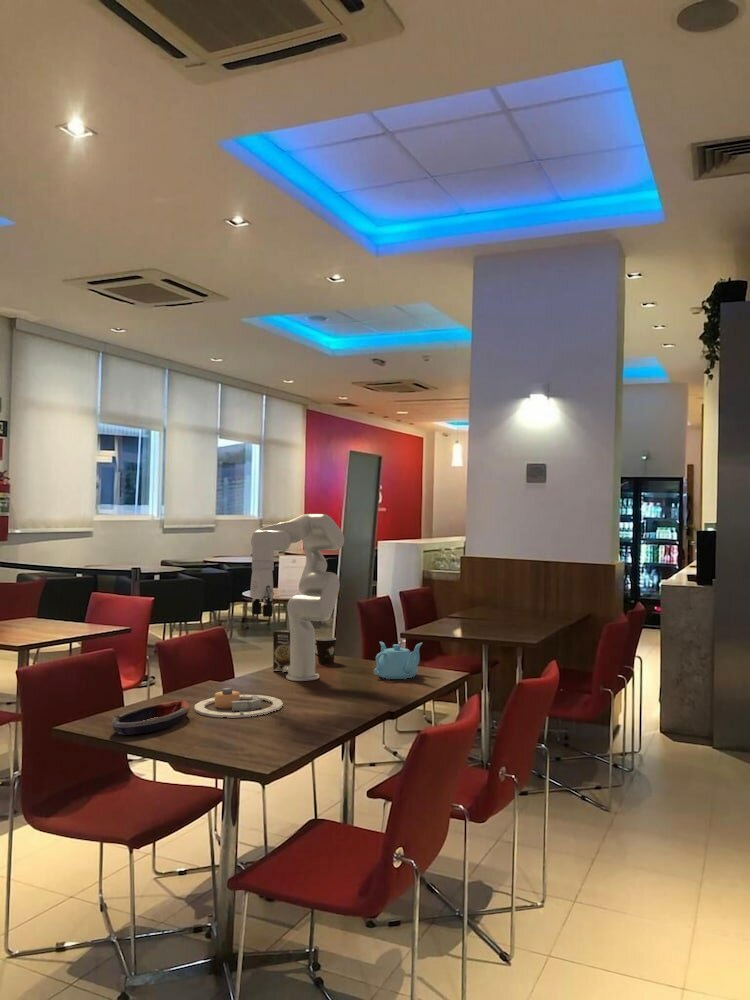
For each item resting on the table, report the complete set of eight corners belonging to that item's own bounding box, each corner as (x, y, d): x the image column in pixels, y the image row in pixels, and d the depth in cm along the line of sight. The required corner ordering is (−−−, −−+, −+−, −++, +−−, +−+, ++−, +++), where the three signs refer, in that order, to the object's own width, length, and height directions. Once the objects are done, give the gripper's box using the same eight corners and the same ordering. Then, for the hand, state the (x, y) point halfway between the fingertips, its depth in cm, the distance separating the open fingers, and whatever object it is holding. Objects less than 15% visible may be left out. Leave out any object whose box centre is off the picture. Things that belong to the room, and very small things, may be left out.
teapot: (422, 672, 322) (422, 641, 322) (417, 682, 303) (417, 649, 304) (380, 671, 325) (379, 640, 325) (371, 680, 306) (371, 648, 307)
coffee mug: (333, 660, 349) (333, 636, 349) (338, 663, 341) (338, 639, 341) (306, 662, 346) (306, 638, 346) (311, 665, 337) (311, 641, 338)
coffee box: (272, 672, 324) (272, 631, 325) (280, 669, 330) (279, 629, 331) (293, 673, 321) (293, 632, 321) (300, 670, 327) (300, 630, 327)
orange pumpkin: (209, 706, 267) (209, 689, 267) (226, 701, 274) (226, 685, 274) (228, 709, 263) (228, 692, 263) (244, 704, 269) (244, 688, 269)
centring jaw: (229, 711, 260) (229, 702, 260) (253, 703, 270) (253, 694, 270) (244, 713, 256) (244, 704, 257) (268, 706, 267) (268, 696, 267)
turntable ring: (176, 710, 261) (176, 707, 261) (235, 693, 285) (235, 690, 285) (243, 721, 246) (243, 718, 246) (299, 703, 270) (299, 699, 270)
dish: (95, 735, 233) (95, 718, 234) (169, 711, 261) (169, 696, 261) (136, 742, 226) (136, 724, 226) (207, 717, 254) (207, 701, 254)
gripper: (243, 565, 290) (242, 613, 289) (262, 566, 276) (261, 617, 275) (263, 565, 294) (262, 613, 293) (282, 566, 279) (282, 617, 278)
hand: (262, 615), depth 284 cm, fingers open, 9 cm apart
